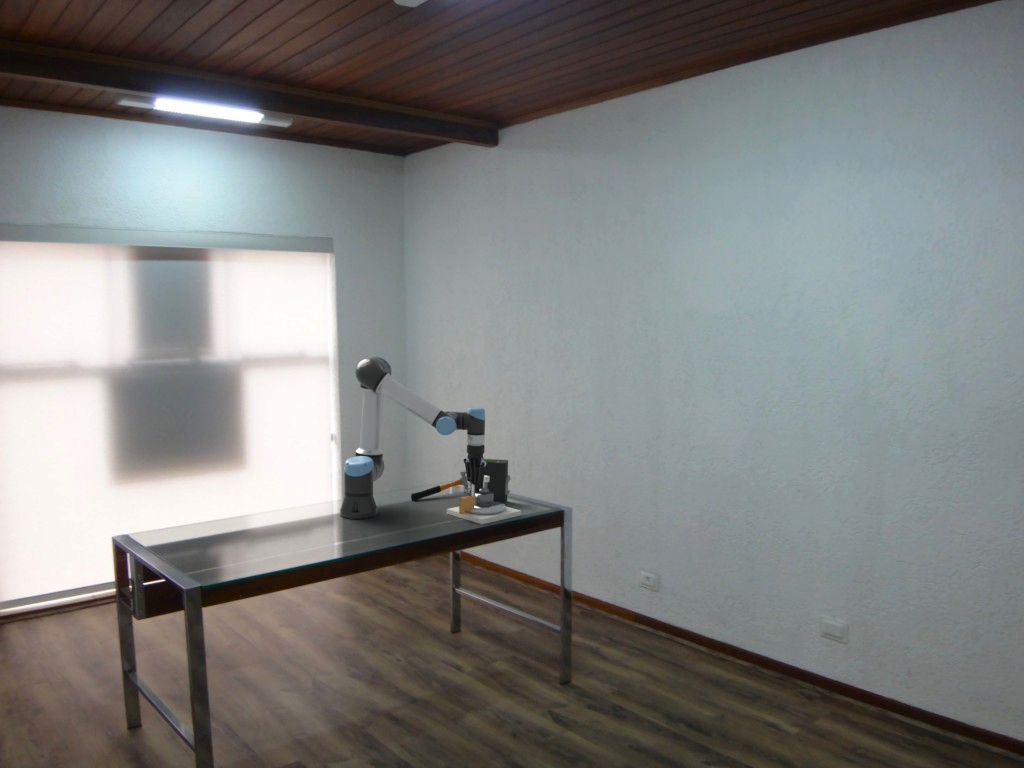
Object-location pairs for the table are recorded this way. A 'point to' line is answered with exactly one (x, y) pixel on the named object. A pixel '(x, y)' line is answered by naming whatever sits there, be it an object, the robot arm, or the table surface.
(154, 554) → the table surface
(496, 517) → the turntable base
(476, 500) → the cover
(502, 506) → the turntable
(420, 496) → the hammer
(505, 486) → the router
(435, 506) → the table surface
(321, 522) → the table surface
